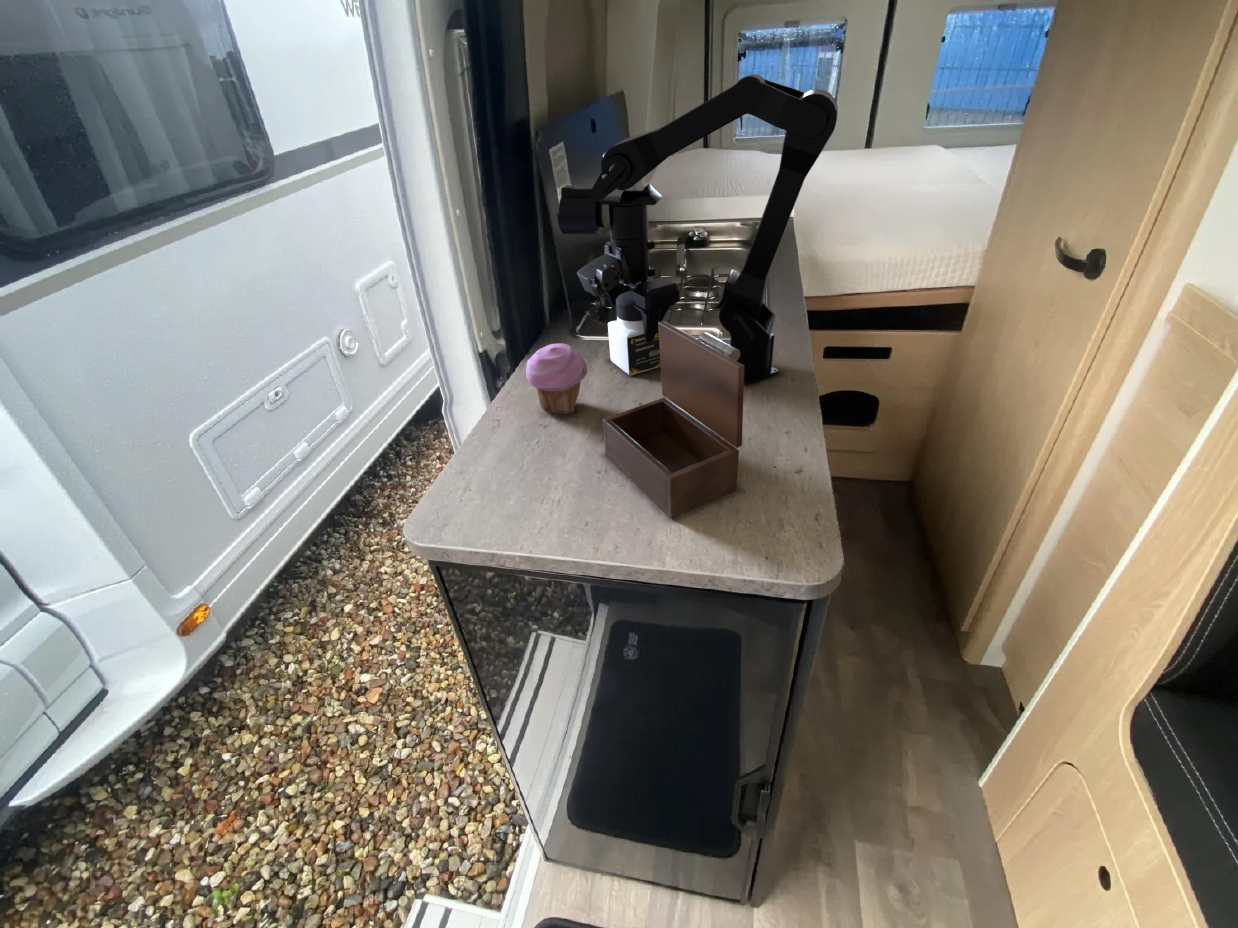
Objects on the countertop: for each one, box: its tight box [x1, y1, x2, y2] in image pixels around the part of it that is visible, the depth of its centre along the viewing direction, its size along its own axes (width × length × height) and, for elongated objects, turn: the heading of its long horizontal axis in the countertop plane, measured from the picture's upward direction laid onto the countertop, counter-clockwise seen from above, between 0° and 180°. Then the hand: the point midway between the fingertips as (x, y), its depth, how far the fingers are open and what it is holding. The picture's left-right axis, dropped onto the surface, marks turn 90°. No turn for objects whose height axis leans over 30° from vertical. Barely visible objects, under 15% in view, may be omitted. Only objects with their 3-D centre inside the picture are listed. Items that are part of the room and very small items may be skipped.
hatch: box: [658, 320, 745, 449], centre depth 73 cm, size 10×16×4 cm
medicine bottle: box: [607, 290, 661, 377], centre depth 100 cm, size 7×7×12 cm
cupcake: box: [525, 342, 588, 415], centre depth 90 cm, size 9×9×10 cm
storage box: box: [602, 396, 740, 519], centre depth 76 cm, size 10×16×6 cm, turn 30°
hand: (634, 332), depth 100 cm, fingers open, 9 cm apart
